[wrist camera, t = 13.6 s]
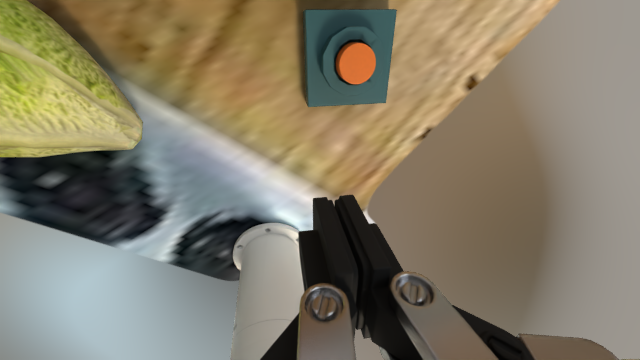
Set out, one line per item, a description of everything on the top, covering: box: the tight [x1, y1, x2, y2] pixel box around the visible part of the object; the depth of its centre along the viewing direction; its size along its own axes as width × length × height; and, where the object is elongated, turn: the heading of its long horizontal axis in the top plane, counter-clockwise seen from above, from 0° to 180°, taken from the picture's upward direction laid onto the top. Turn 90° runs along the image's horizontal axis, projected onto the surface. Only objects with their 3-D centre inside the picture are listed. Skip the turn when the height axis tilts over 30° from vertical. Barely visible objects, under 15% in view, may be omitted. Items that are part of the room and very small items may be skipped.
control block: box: [303, 9, 397, 107], centre depth 30 cm, size 10×10×4 cm
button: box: [336, 42, 376, 84], centre depth 28 cm, size 4×4×2 cm
